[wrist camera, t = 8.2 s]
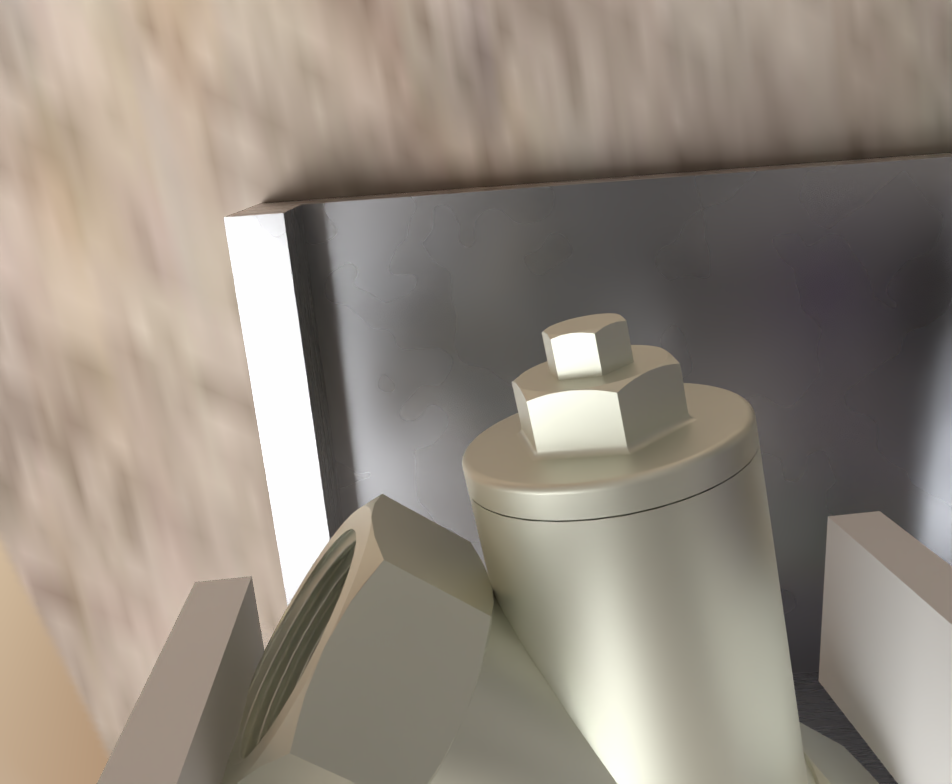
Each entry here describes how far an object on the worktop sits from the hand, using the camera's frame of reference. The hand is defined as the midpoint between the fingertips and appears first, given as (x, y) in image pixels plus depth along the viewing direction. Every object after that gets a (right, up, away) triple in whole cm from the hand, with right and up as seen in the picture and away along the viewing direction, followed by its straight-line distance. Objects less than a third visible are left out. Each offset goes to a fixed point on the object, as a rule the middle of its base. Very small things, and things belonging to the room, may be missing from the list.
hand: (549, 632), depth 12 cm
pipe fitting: (+1, +1, 0) cm, 1 cm away
